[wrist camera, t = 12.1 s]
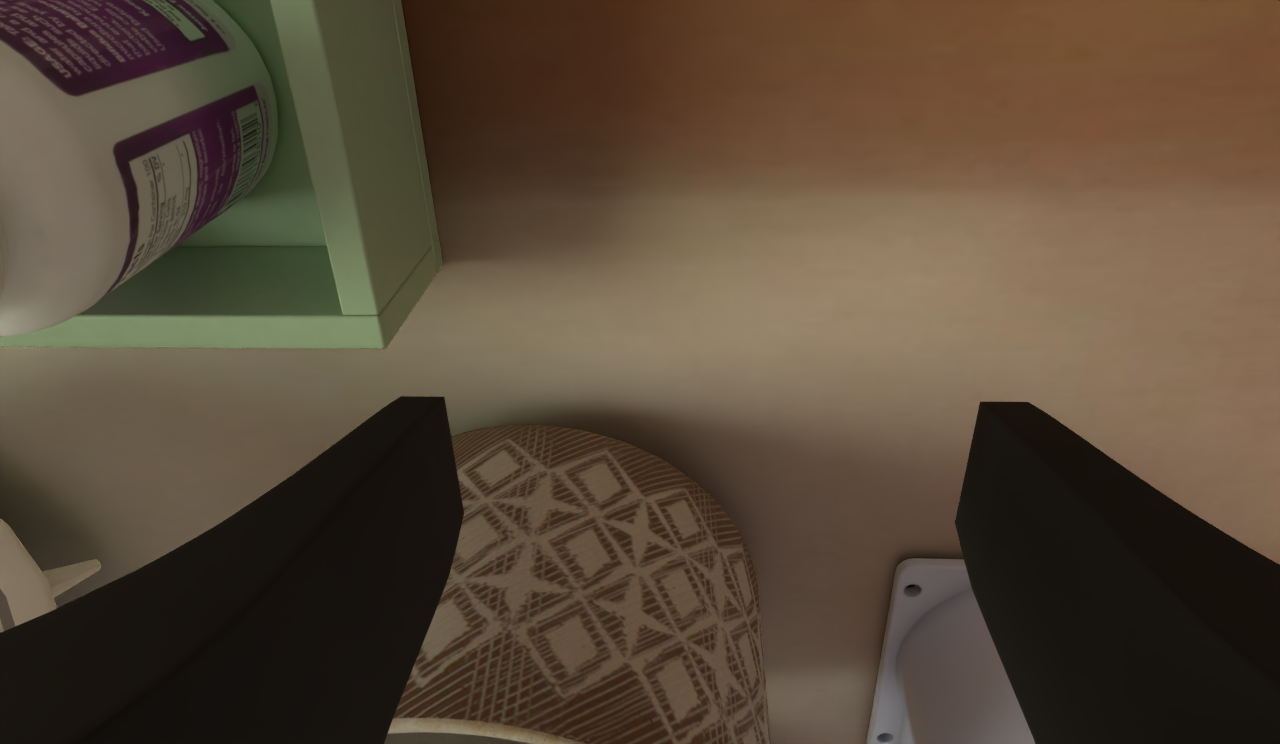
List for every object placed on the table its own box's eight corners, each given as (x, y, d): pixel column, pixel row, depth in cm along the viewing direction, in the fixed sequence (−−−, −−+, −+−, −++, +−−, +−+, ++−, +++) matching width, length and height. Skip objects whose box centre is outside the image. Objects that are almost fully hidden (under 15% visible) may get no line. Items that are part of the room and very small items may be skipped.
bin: (443, 265, 22) (386, 350, 18) (56, 265, 22) (-84, 347, 18) (364, -239, 16) (256, -279, 12) (-142, -216, 17) (-399, -248, 13)
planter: (276, 485, 25) (46, 810, 16) (650, 337, 22) (615, 645, 13) (488, 734, 31) (401, 1081, 22) (813, 647, 28) (868, 1013, 19)
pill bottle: (-1, 37, 19) (-557, 149, 10) (179, -82, 17) (-292, -63, 9) (164, 242, 21) (-181, 471, 13) (334, 152, 20) (73, 340, 11)
